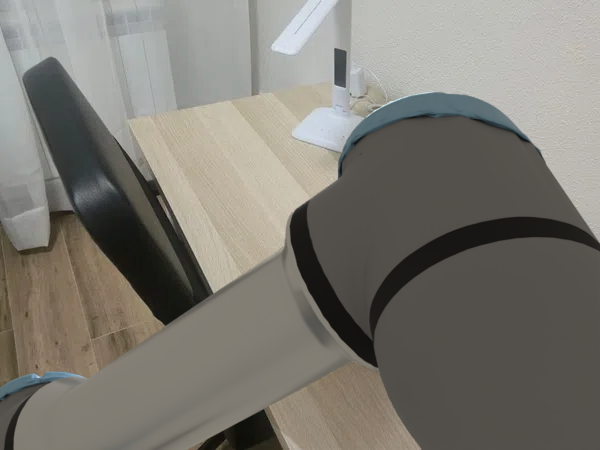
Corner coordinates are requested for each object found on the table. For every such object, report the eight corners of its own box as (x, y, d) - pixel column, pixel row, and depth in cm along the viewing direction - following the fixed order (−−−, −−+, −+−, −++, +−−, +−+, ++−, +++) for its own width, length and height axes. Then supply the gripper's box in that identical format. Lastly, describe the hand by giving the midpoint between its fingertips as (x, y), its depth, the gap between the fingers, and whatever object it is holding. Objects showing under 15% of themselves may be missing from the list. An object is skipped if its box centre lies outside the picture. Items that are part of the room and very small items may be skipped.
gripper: (562, 488, 56) (377, 357, 67) (625, 365, 67) (459, 272, 78) (590, 451, 51) (385, 317, 62) (654, 326, 62) (471, 232, 73)
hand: (426, 292), depth 70 cm, fingers closed on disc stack, 7 cm apart
